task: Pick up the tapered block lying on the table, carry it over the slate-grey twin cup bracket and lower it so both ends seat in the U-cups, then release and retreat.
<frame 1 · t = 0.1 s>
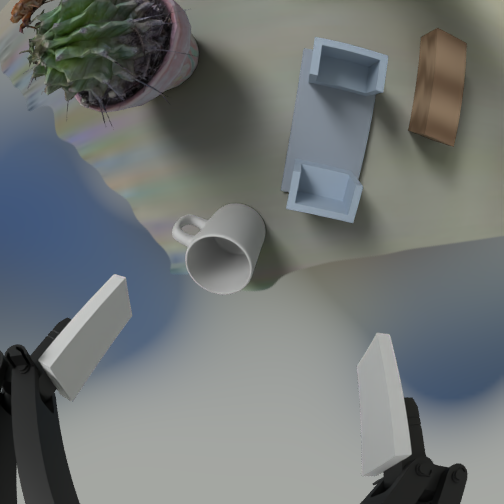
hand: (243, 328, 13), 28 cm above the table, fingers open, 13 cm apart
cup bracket: (330, 126, 33), on the table
mug: (228, 223, 42), on the table
potted plant: (173, 61, 31), on the table
tapered block: (429, 87, 27), on the table
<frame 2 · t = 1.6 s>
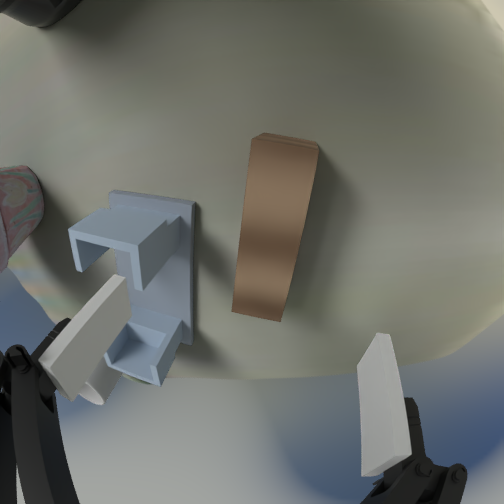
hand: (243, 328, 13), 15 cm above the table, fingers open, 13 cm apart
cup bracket: (154, 274, 32), on the table
mug: (105, 336, 42), on the table
potted plant: (30, 198, 31), on the table
tapered block: (276, 215, 26), on the table
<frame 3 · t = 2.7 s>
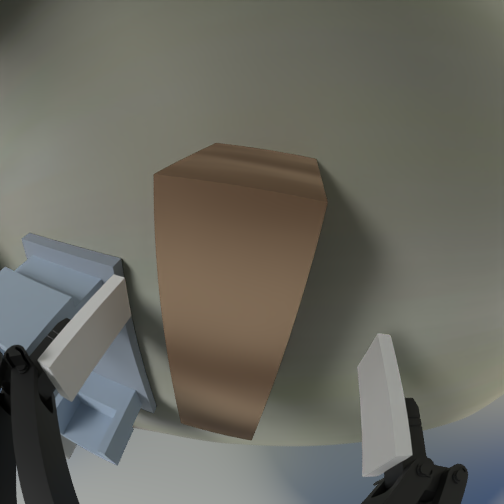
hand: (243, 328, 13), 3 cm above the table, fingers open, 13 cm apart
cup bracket: (95, 338, 22), on the table
tapered block: (246, 284, 16), on the table
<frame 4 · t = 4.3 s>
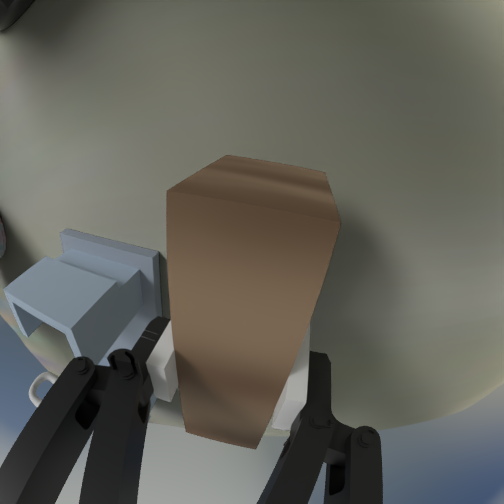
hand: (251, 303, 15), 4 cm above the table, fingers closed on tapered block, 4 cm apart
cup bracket: (121, 328, 25), on the table
mug: (82, 376, 34), on the table
tapered block: (253, 296, 16), point 3 cm above the table, touching gripper
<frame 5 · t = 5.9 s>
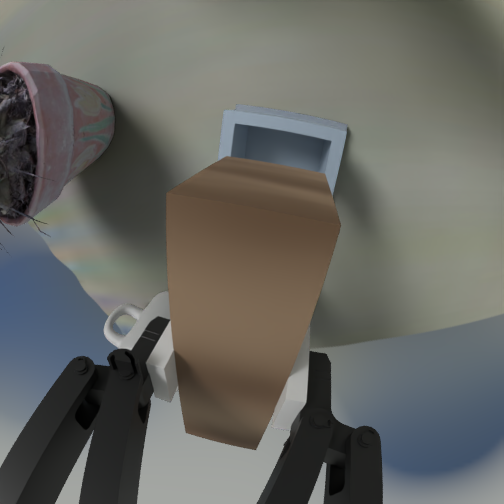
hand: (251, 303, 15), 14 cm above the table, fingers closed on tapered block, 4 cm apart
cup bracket: (274, 211, 28), on the table
mug: (168, 308, 37), on the table
potted plant: (91, 126, 26), on the table
tapered block: (253, 297, 16), point 14 cm above the table, touching gripper
when the fingers open (6 cm above the table, at t = 7.7 s): tapered block drops 1 cm, resting on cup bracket.
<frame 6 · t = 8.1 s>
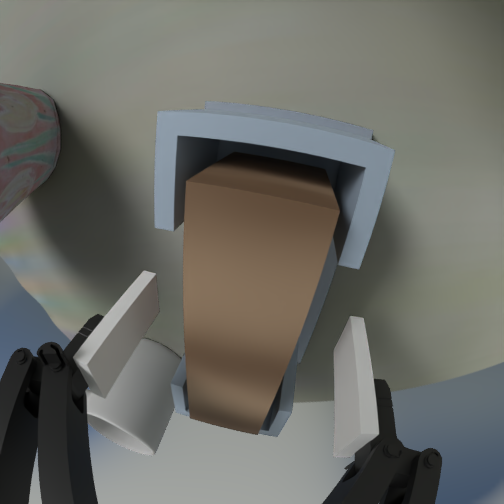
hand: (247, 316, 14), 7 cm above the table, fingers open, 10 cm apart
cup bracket: (265, 253, 20), on the table
mug: (143, 353, 30), on the table
potted plant: (38, 141, 19), on the table
tapered block: (256, 285, 17), point 4 cm above the table, touching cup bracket
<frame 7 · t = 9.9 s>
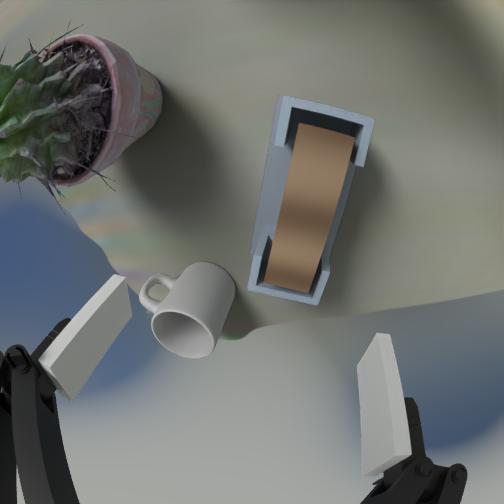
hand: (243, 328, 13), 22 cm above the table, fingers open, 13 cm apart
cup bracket: (305, 186, 32), on the table
mug: (198, 279, 41), on the table
potted plant: (137, 106, 30), on the table
tapered block: (305, 196, 28), point 4 cm above the table, touching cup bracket
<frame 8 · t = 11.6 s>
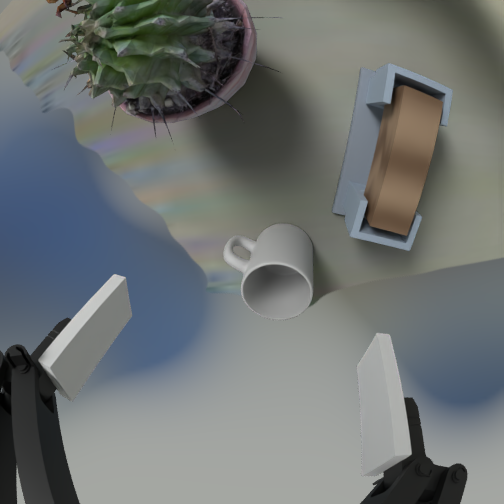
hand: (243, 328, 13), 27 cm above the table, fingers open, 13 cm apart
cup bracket: (383, 149, 31), on the table
mug: (273, 243, 41), on the table
potted plant: (218, 67, 30), on the table
tapered block: (392, 153, 28), point 4 cm above the table, touching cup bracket
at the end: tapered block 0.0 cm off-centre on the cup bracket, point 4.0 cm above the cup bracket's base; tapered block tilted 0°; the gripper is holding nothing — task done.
